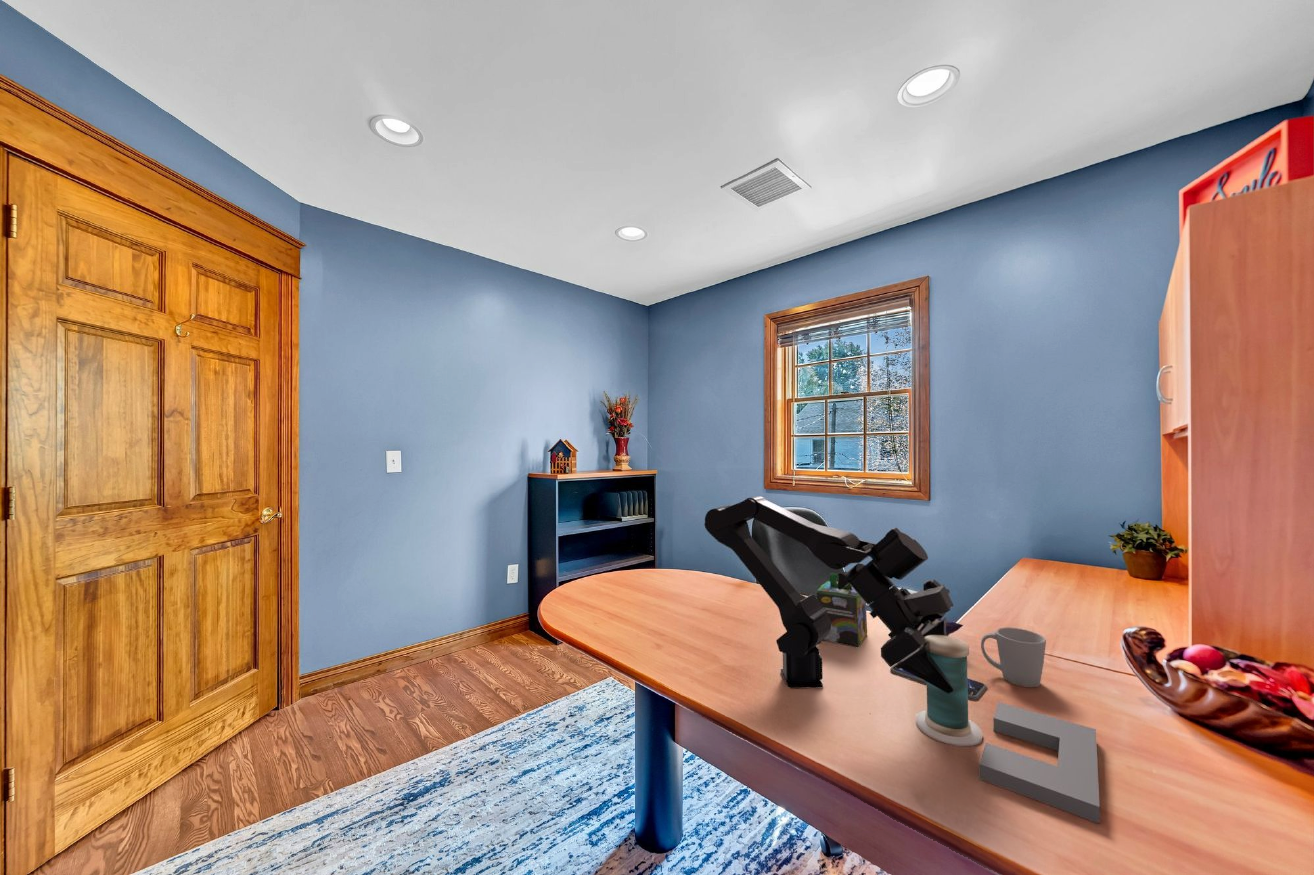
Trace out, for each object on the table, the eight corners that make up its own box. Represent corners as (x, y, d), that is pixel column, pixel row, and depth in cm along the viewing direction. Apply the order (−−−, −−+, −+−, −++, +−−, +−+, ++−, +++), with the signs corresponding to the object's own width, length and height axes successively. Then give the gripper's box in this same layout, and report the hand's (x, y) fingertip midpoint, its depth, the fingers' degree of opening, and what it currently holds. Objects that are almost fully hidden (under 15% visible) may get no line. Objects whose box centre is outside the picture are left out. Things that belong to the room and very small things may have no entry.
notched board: (979, 778, 66) (979, 763, 66) (998, 713, 81) (998, 701, 81) (1099, 823, 58) (1099, 806, 58) (1096, 742, 73) (1095, 729, 73)
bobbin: (938, 737, 74) (936, 651, 74) (917, 714, 80) (915, 634, 80) (980, 736, 74) (978, 650, 74) (955, 713, 80) (954, 634, 80)
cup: (1048, 694, 86) (1047, 646, 86) (980, 679, 92) (979, 634, 92) (1045, 677, 92) (1044, 632, 92) (982, 663, 98) (981, 621, 98)
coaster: (935, 746, 72) (935, 743, 72) (905, 712, 81) (905, 709, 81) (996, 746, 72) (996, 742, 72) (959, 712, 81) (959, 709, 81)
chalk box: (867, 634, 114) (866, 571, 114) (859, 648, 106) (857, 581, 106) (827, 626, 119) (826, 566, 119) (816, 639, 111) (815, 575, 112)
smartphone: (903, 657, 100) (988, 683, 89) (903, 662, 100) (988, 689, 89) (887, 668, 96) (976, 698, 84) (888, 673, 96) (976, 703, 84)
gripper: (901, 580, 72) (992, 677, 65) (930, 556, 87) (1008, 633, 79) (849, 621, 78) (927, 715, 70) (884, 591, 92) (953, 667, 84)
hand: (957, 679), depth 76 cm, fingers open, 9 cm apart
